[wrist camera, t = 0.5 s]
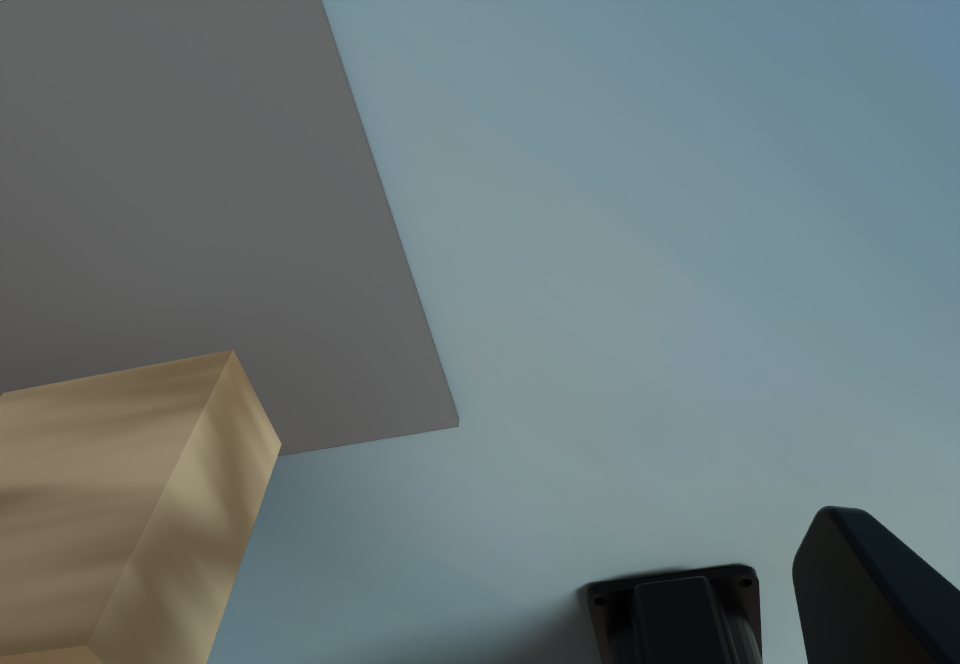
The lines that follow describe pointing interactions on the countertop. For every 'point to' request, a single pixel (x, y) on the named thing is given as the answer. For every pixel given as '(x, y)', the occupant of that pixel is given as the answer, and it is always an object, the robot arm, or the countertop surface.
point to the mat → (205, 213)
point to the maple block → (128, 511)
